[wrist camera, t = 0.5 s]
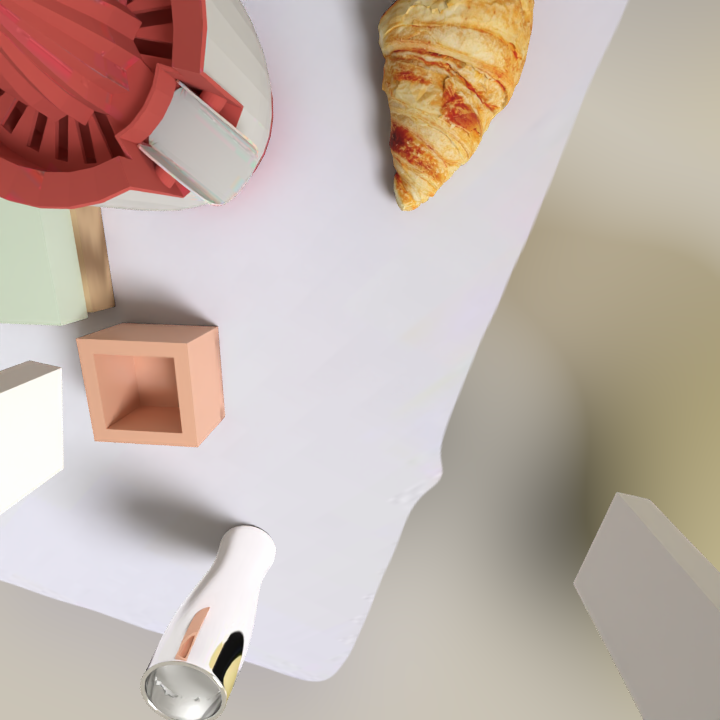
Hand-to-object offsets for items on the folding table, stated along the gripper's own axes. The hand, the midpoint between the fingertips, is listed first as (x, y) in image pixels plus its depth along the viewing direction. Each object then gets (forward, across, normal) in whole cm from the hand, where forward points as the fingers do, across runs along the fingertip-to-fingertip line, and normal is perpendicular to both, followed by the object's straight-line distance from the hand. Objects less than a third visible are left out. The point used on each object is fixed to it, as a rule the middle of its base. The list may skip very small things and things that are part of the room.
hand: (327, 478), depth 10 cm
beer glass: (+28, -7, -30) cm, 41 cm away
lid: (+25, -30, -2) cm, 39 cm away
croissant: (+28, +1, +18) cm, 33 cm away
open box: (+28, -17, -11) cm, 34 cm away
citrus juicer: (+28, -16, +11) cm, 34 cm away
